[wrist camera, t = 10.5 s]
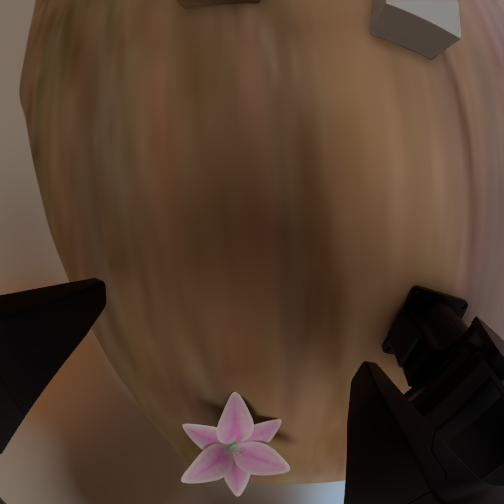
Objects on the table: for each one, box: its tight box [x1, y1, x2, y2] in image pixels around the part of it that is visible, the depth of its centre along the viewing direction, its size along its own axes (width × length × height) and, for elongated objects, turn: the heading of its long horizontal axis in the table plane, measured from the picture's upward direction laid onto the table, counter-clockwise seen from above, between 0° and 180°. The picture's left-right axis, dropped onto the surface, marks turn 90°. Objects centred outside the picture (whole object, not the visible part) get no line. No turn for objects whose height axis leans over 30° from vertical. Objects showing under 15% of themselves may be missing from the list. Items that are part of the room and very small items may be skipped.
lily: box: [181, 392, 290, 496], centre depth 24 cm, size 12×12×10 cm
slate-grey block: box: [370, 0, 461, 59], centre depth 9 cm, size 5×5×5 cm
